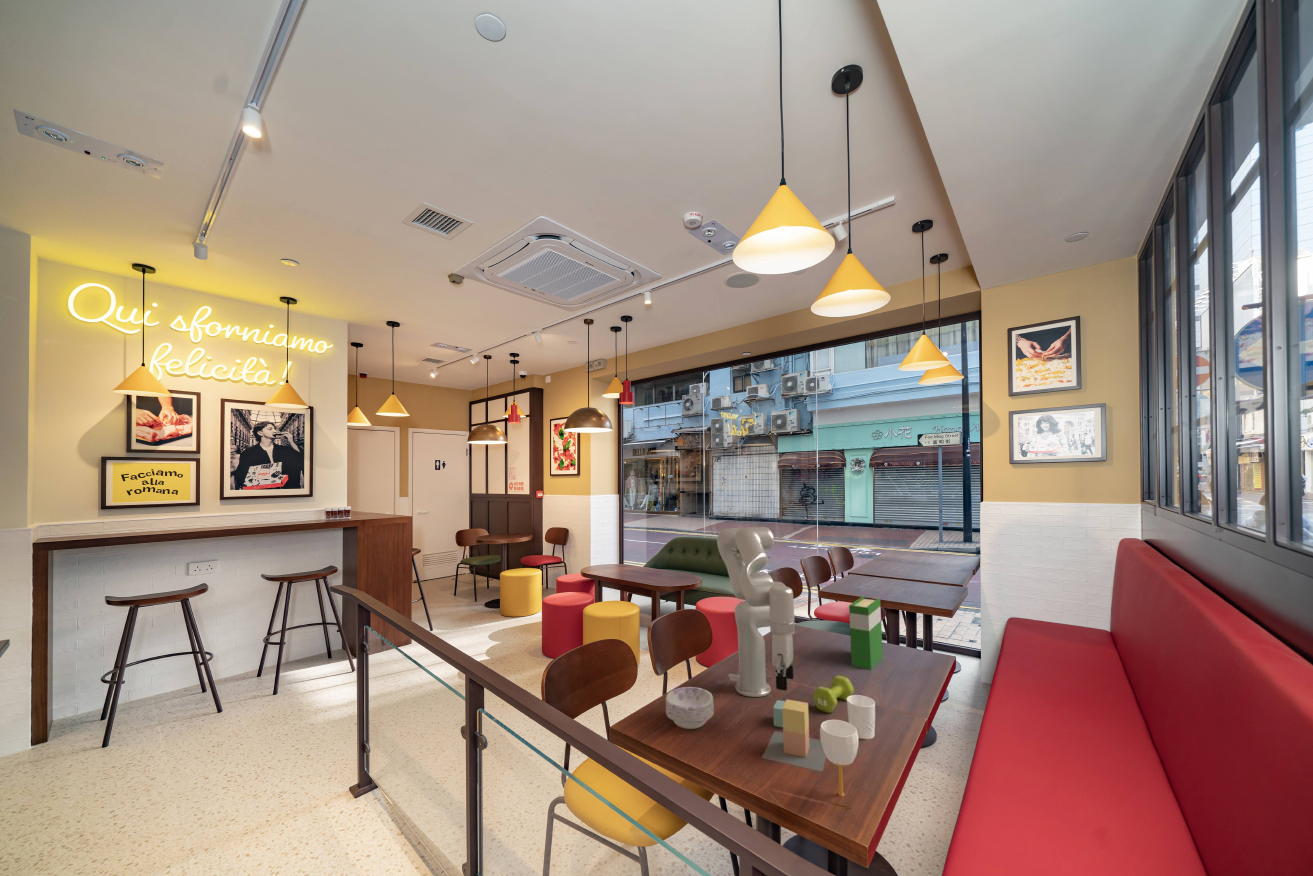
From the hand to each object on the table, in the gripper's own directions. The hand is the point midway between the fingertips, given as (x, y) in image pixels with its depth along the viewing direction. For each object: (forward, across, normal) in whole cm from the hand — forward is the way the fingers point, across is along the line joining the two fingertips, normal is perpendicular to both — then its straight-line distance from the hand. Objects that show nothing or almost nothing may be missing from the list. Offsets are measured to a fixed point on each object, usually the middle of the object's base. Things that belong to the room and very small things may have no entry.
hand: (785, 683), depth 158 cm
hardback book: (+12, -68, +19) cm, 72 cm away
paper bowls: (+13, +9, -29) cm, 33 cm away
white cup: (+13, -4, +21) cm, 25 cm away
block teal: (+13, -1, -1) cm, 13 cm away
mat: (+13, +13, +5) cm, 19 cm away
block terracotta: (+13, +13, +5) cm, 19 cm away
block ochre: (+7, +13, +6) cm, 16 cm away
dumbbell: (+13, -22, +11) cm, 28 cm away
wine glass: (+14, +29, +19) cm, 37 cm away
